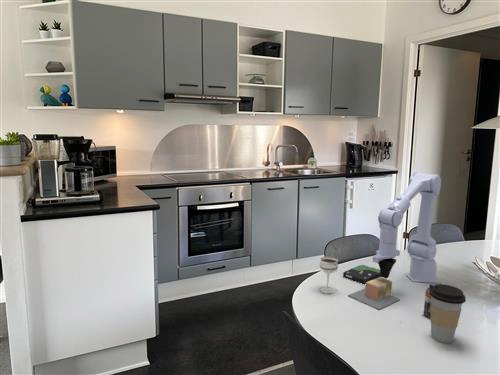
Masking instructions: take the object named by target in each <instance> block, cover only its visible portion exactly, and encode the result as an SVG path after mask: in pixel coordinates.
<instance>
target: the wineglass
mask: <svg viewBox="0 0 500 375" xmlns="http://www.w3.org/2000/svg"><path fill="white" fill-rule="evenodd" d="M319 260H320V262H319V268H320V269H321V271H322V272H323V273H325V274H326V287H320V291H321V292H323V293H324V294H325V293H326V294H332V293H334V291H335V290H334V289H333V288H331V287H329V283H330V282H329V280H330V276H331V275H332V274H333V273H335V272H336V271H337V270H338V267H339V263H338V262H339V260H338V259H337V258H336V257H333V256H322V257H320V258H319Z"/></svg>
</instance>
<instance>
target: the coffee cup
mask: <svg viewBox="0 0 500 375" xmlns="http://www.w3.org/2000/svg"><path fill="white" fill-rule="evenodd" d="M429 294H430V295H431V319H430V326H431V327H430V328H431V329H430V336H431V338H432V339H434V340H435V341H437V342H440V343H443V344H444V343H445V344H449V343H453V342H454V338H455V335H456V330H457V327H458V325H459V320H460V316H461V314H462V305H463V304H464V303H465V302H466V296H465V295H464V291H463V290H462V289H460V288H458V287H455V286H453V285H449V284H443V283H441V284H438V285H434V286H433V288H432V289H430V292H429Z"/></svg>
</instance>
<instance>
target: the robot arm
mask: <svg viewBox="0 0 500 375" xmlns="http://www.w3.org/2000/svg"><path fill="white" fill-rule="evenodd" d="M408 182H409V183H408V186H407V187H406V189H405V190H404V192H403V193H402V195H398V196H396V197H395V198H394V199H393V201H392V202H391V203H390V204H389V205H388V207H387V208H383V209H381V210H380V211H379V214H378V216H377V220H378V224H379V229H380V234H379V244H378V250H376V251H375V253H376V254H375V255H373V256H372V262H373V263H376V264H378V267H379V270H380V272H381V278H384V279H388V278H389V277H390V274H391V271H392V268H393V267H394V265H395V264H396V263H397V259H396V257H399V256H400V255H401V250H400V249H397V239H398V229H399V227H400V225H401V223H402V221H403V219H404V214H406V212H407V211H408V210H409V208H411V201H412V200H413V199H414V198H415V197H416V196H418V194H420V196H421V199H420V206H419V207H420V208H419V213H418V219H417V220H418V221H417V227H416V233H415V234H413V235H411V236H410V237H409V241H408V243H407V246H406V250H407V253H408V255H409V257H410V265H409V272H406V273H405V275H406V276H407V277H408V279H410V281H411V282H413V283H430V282H437V280H436V278H437V277H436V276H437V268H438V266H437V264H438V263H437V261H436V259H435V257H436V254H437V241H436V240H435V239H434V238H433V237H432V236H431V230H432V224H433V223H432V222H433V216H434V210H435V205H436V198H437V196H439V195H440V191H441V185H442V178H441V177H440V175H439V174H434V173H433V174H432V173H424V172H417V171H415V172H413V173H411V175H410V177H409V181H408Z"/></svg>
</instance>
